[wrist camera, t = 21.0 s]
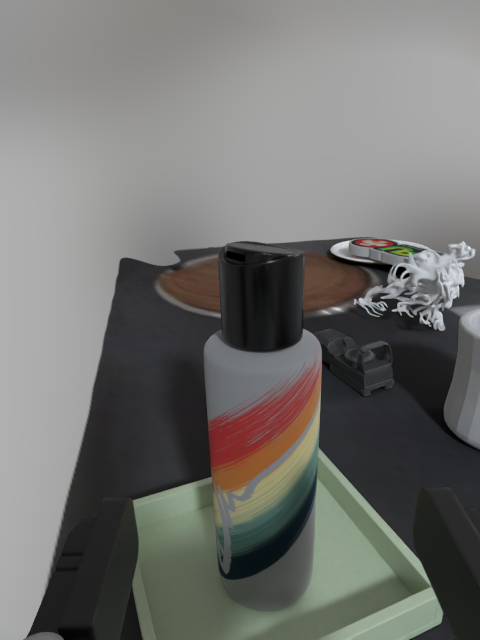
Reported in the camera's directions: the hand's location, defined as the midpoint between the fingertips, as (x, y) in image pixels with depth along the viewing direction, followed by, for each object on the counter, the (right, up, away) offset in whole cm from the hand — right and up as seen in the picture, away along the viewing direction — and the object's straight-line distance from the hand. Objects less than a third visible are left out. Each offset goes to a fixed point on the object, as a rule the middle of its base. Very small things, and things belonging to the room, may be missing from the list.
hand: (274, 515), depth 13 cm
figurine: (+22, +16, +48) cm, 55 cm away
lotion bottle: (+1, -10, +15) cm, 18 cm away
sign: (+34, +19, +76) cm, 86 cm away
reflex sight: (+11, 0, +38) cm, 40 cm away
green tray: (0, -10, +15) cm, 18 cm away
